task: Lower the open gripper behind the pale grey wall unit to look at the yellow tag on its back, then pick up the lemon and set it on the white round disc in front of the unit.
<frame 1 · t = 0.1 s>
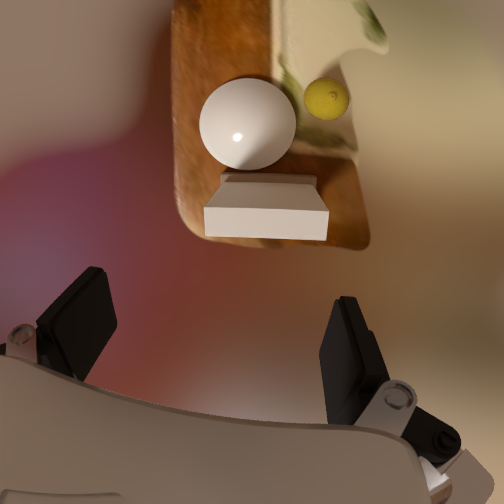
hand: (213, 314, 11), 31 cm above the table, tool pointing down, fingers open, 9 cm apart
white round disc: (247, 123, 36), on the table
lemon: (320, 101, 34), on the table
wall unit: (269, 148, 37), on the table
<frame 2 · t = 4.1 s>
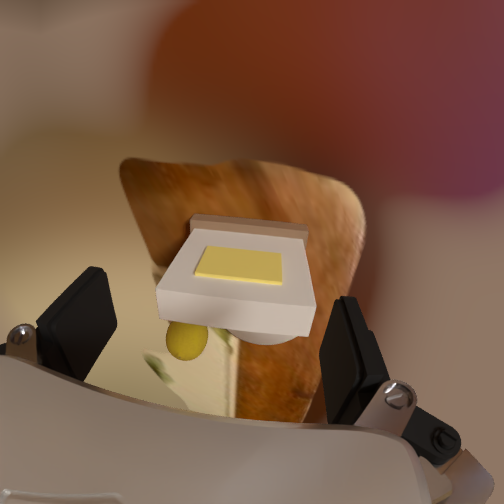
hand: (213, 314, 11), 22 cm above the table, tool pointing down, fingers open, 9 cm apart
white round disc: (265, 305, 37), on the table
lemon: (194, 316, 40), on the table
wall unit: (245, 281, 36), on the table
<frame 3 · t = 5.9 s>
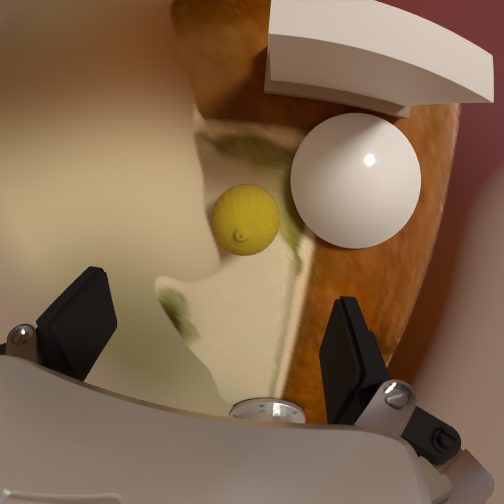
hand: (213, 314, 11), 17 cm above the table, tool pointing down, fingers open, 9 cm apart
white round disc: (357, 181, 25), on the table
lemon: (249, 205, 27), on the table
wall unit: (332, 139, 23), on the table
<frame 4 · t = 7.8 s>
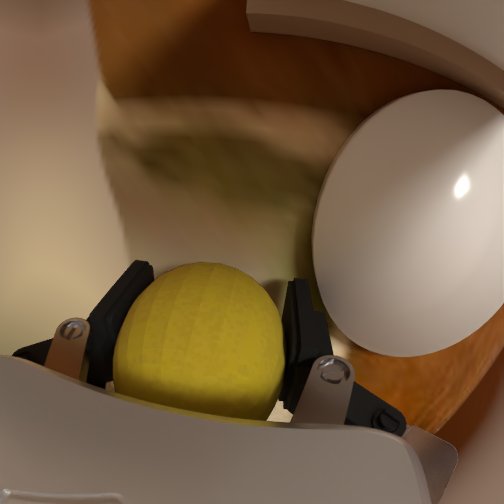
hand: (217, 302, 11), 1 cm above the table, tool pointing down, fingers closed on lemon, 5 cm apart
white round disc: (445, 236, 11), on the table
lemon: (222, 285, 13), on the table, touching gripper
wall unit: (409, 145, 9), on the table
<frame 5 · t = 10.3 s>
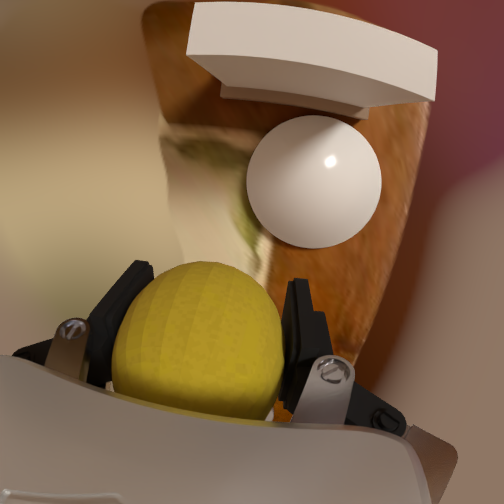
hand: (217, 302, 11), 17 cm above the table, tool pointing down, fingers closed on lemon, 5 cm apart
white round disc: (315, 182, 26), on the table
lemon: (221, 284, 13), point 16 cm above the table, touching gripper
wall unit: (289, 141, 25), on the table
when the fingers open (4 cm above the table, at t = 12.8 s): lemon drops 1 cm, resting on white round disc.
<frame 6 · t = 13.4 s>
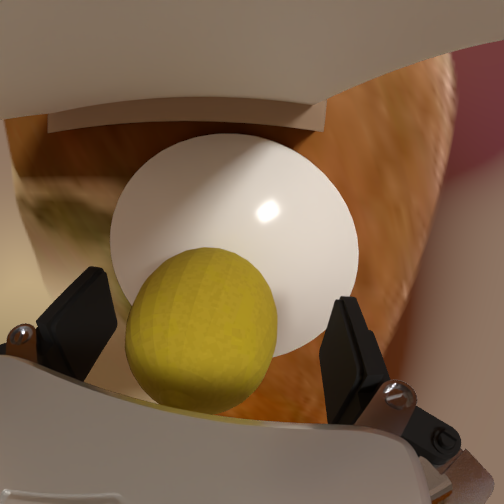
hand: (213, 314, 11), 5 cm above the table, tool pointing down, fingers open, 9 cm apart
white round disc: (229, 261, 15), on the table
lemon: (223, 270, 14), point 1 cm above the table, touching white round disc
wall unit: (173, 191, 13), on the table
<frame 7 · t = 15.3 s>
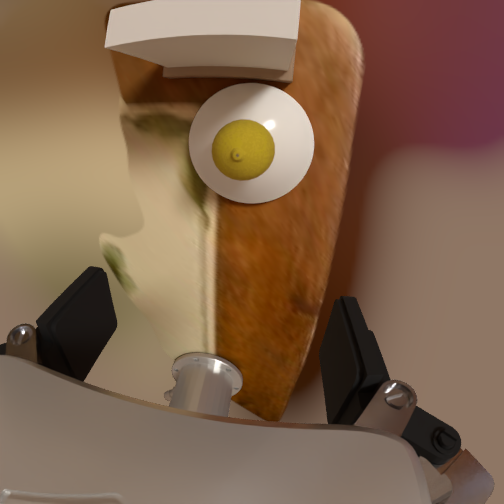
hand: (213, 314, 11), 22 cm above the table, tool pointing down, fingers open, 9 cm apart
white round disc: (251, 142, 28), on the table
lemon: (248, 144, 28), point 1 cm above the table, touching white round disc
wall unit: (225, 109, 27), on the table
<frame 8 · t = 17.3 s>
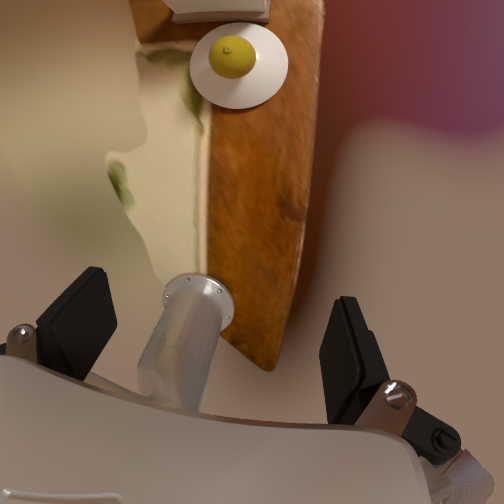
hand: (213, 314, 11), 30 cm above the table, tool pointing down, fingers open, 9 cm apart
white round disc: (238, 64, 31), on the table
lemon: (236, 64, 31), point 1 cm above the table, touching white round disc
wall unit: (218, 42, 30), on the table
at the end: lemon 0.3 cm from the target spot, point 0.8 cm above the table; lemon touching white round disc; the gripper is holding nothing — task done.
